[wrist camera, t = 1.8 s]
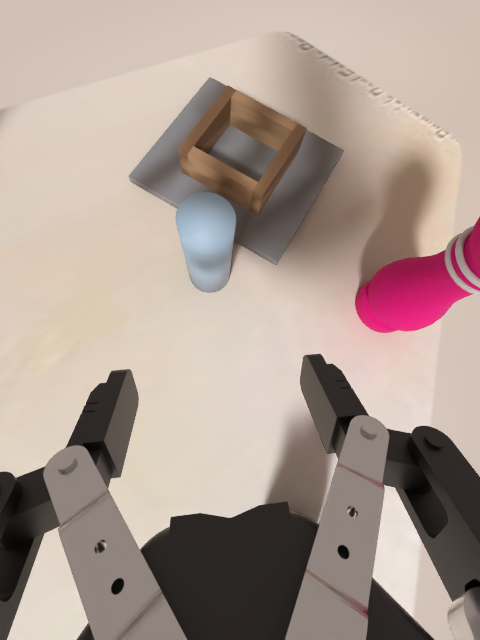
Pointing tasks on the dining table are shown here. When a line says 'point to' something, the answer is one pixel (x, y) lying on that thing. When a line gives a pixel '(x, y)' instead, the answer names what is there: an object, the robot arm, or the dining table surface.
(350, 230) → the dining table surface
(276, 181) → the wooden frame tray
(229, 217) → the post
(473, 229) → the pepper mill
